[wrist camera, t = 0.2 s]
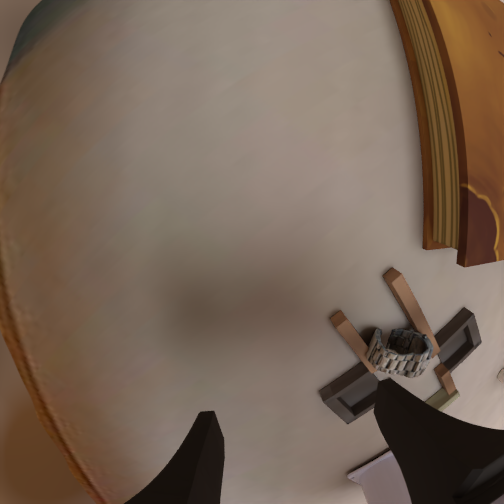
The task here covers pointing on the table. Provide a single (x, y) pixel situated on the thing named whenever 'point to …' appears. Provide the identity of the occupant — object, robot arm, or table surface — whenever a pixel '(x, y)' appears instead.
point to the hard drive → (501, 376)
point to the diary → (459, 121)
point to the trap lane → (445, 342)
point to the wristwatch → (400, 353)
